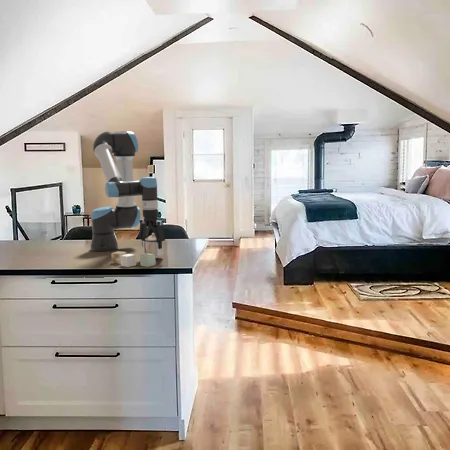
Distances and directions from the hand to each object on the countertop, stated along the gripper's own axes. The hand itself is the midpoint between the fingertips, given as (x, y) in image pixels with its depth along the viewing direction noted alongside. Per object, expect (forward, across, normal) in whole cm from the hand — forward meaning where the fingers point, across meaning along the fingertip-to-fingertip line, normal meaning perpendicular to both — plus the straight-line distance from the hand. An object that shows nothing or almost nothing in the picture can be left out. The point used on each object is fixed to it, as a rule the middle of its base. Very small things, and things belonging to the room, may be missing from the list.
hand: (152, 254), depth 255 cm
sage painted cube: (+3, +7, -10) cm, 13 cm away
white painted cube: (+3, -1, -15) cm, 15 cm away
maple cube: (+3, -10, -13) cm, 17 cm away
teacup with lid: (+2, 0, 0) cm, 2 cm away
